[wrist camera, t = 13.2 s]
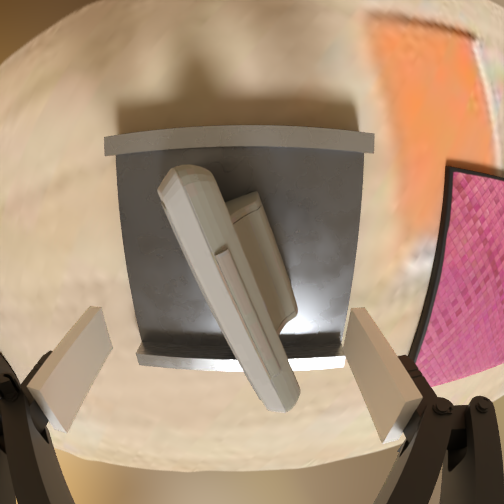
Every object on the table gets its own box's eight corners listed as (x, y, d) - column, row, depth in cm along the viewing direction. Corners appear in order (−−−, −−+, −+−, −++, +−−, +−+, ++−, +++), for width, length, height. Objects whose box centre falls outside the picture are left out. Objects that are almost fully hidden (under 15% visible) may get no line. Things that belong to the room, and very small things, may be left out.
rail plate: (147, 347, 28) (139, 364, 25) (120, 137, 21) (104, 137, 18) (336, 348, 28) (343, 367, 25) (359, 135, 21) (374, 133, 18)
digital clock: (159, 170, 21) (90, 188, 11) (273, 149, 21) (295, 146, 11) (202, 342, 27) (183, 430, 17) (296, 330, 26) (315, 419, 16)
